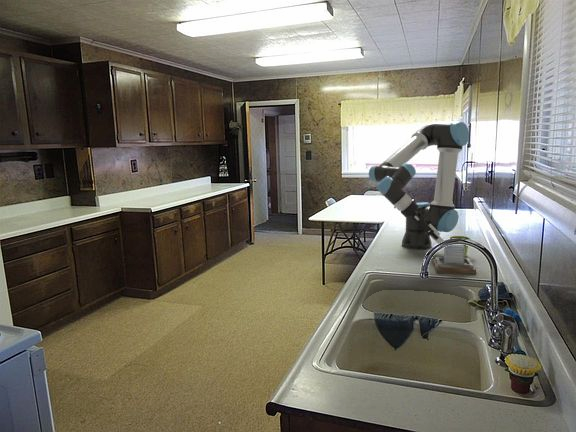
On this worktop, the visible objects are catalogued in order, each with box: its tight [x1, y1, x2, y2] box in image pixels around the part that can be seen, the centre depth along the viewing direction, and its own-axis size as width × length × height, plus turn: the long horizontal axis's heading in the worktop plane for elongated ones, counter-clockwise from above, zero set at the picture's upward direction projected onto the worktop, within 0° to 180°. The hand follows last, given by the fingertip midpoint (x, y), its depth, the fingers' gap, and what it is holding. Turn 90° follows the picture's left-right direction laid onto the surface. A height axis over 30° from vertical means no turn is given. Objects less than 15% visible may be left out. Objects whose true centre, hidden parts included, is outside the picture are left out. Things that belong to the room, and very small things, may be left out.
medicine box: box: [443, 245, 465, 264], centre depth 187 cm, size 8×4×9 cm, turn 78°
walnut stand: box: [432, 256, 477, 275], centre depth 188 cm, size 14×16×4 cm
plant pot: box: [449, 235, 472, 257], centre depth 206 cm, size 9×9×9 cm
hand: (440, 239), depth 186 cm, fingers open, 13 cm apart
